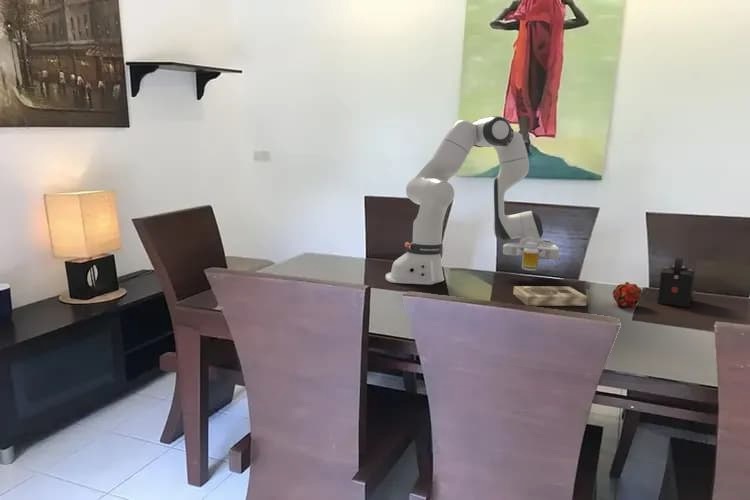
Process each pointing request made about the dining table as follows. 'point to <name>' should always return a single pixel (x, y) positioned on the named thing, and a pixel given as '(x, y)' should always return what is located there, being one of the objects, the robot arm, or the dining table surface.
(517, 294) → the holder block
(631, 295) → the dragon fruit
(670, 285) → the camera
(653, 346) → the dining table surface
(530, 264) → the supplement bottle
